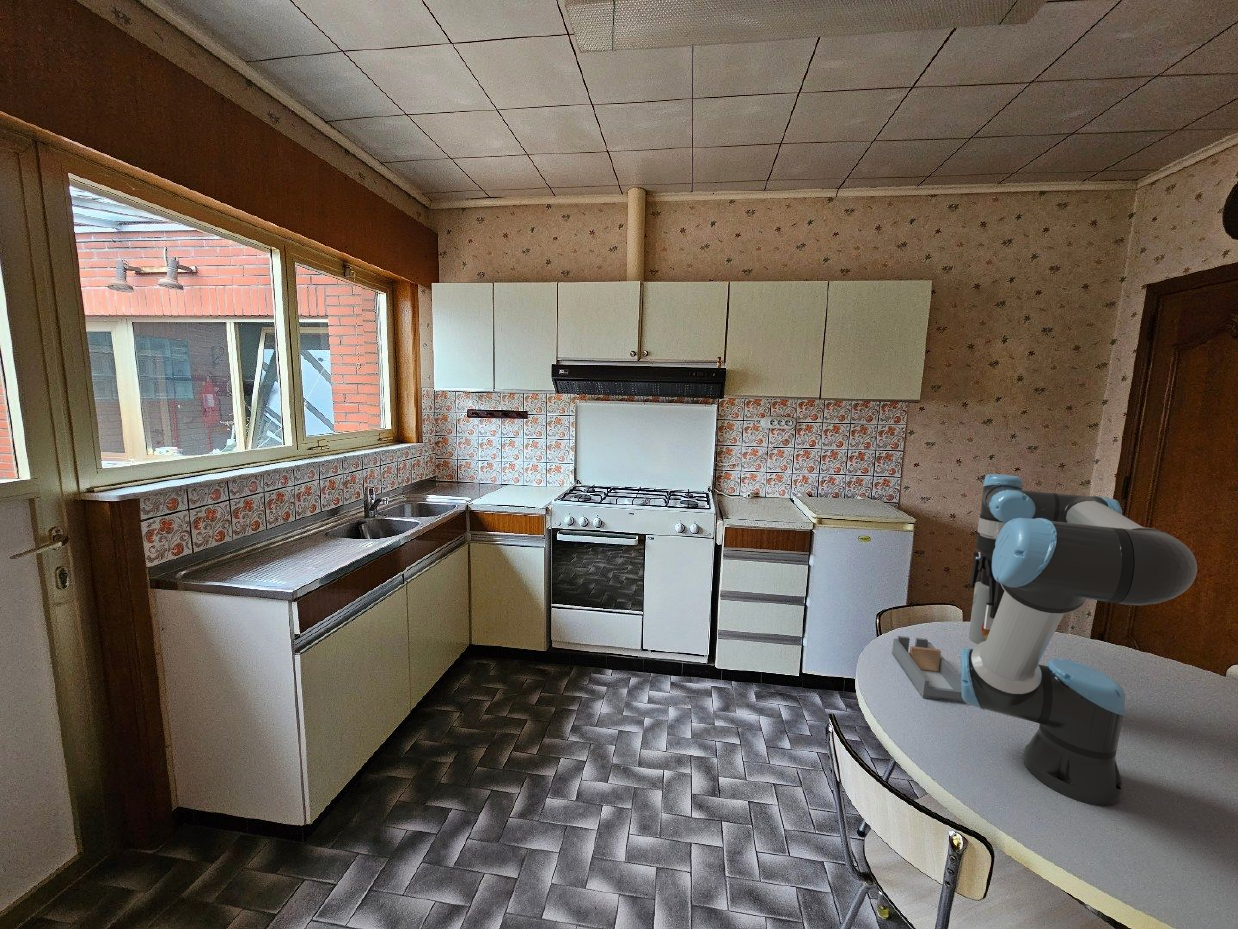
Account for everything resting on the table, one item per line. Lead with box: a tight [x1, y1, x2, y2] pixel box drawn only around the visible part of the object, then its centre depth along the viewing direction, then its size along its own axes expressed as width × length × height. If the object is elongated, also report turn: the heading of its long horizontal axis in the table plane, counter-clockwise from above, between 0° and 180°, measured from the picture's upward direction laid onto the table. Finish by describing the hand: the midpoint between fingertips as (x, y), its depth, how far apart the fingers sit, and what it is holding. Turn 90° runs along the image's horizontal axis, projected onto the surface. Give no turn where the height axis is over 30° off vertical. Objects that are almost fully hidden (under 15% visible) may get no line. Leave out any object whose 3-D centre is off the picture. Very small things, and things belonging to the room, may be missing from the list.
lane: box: [891, 635, 967, 704], centre depth 139 cm, size 23×10×6 cm, turn 169°
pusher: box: [909, 645, 942, 671], centre depth 144 cm, size 7×7×6 cm
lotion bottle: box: [968, 566, 993, 645], centre depth 127 cm, size 6×6×20 cm
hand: (983, 623), depth 128 cm, fingers closed on lotion bottle, 5 cm apart
